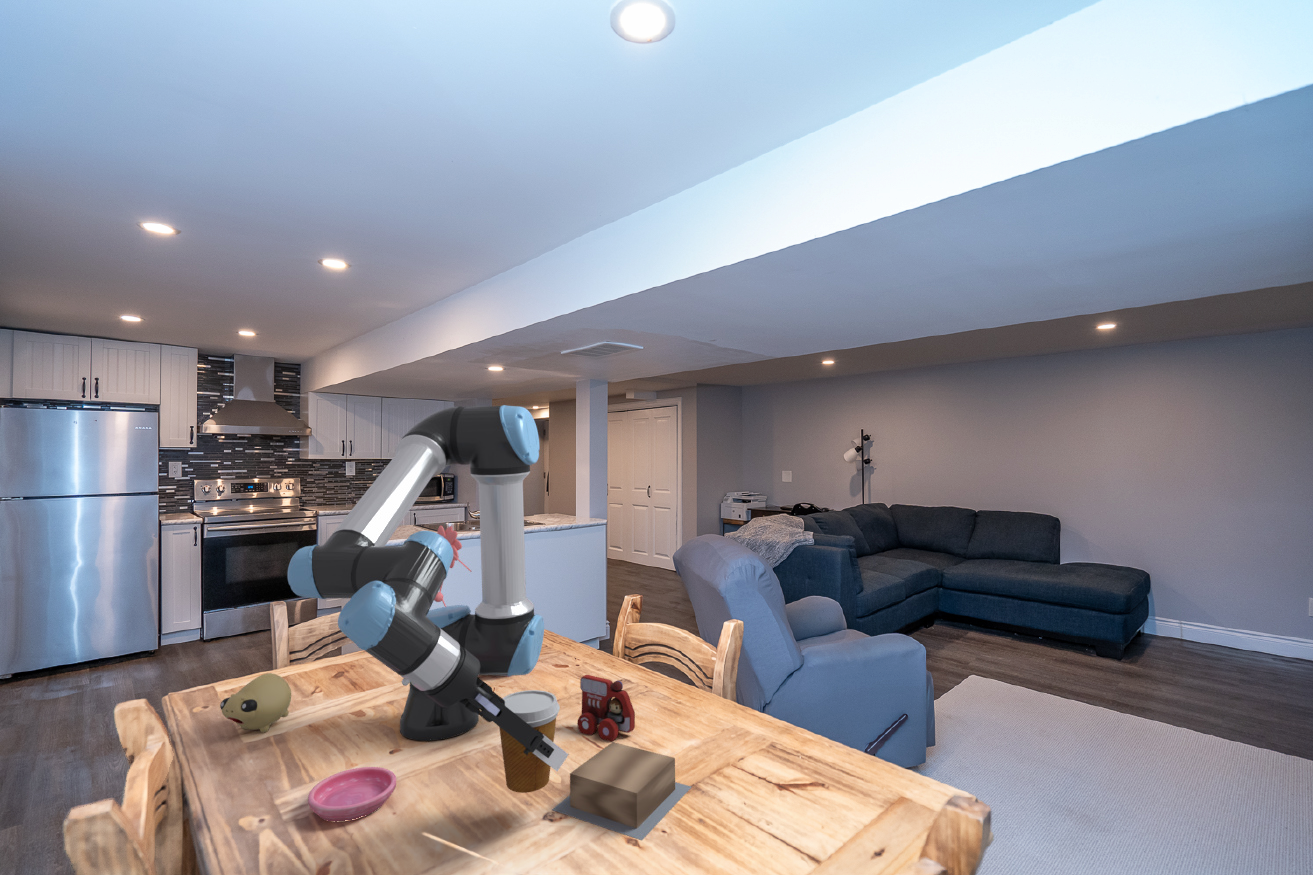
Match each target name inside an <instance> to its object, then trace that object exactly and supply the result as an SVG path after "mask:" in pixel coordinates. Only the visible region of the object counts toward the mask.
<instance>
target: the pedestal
mask: <svg viewBox="0 0 1313 875" xmlns="http://www.w3.org/2000/svg"><path fill="white" fill-rule="evenodd" d="M675 782H676V757H673V756H669V755H666V754H661V753H657V752H653V751H649V750H645V749H641V748H637V747H634V746H629V745H626V744H622V743H618V742H614V741H611V743H609V744H608V745H607V746H605V747H604V748H603V749H601V750H600V751H598V752H597V753H595V755H593V756H591V757H590V758H588V759H587V760H586V761H585V762H583V763H582V764H581V765H580V766H578V767H576V768H575V769H574V770H573V771H571V772H570V773H569V796H570V807H573V808H576V809H579V810H582V811H585V812H588V813H591V814H594V815H597V816H600V817H603V818H607V819H610V820H613V821H616V822H619V823H622V824H625V825H628V826H631V827H634V828H638V827H639V826H640V825H641V824H642V823H643V822H644V821H645V820H646V819H647V818H648V817H649V816H650V815H651V814H652V813H653V812H654V811H655V810H656V809H657V808H658V807H659V806H660V805H661V804H662V802H663V801H664V800H665V799H666V798H667V797H668V796H669V795H670V794H671V793H672V792H673V791H674V790H675Z"/></svg>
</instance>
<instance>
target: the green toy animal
mask: <svg viewBox="0 0 1313 875" xmlns="http://www.w3.org/2000/svg"><path fill="white" fill-rule="evenodd" d="M291 701H292V690H291V687H290V684H289V683H288V682H287V680H285V679H284V677H282V676H280V675H278V674H276V673H272V672H270V673H269V672H267V673H264V674H261V675H259V676H257V677H256V678H254V679H253V680H251V681H250V682H248V683H247V684H246V685H244V686H243V687H242V688H240V689H239V691H238V692H236V693H233V694H231V695H230V697H226V698H223V699H222V701H221V703H220V704H219V706H220V710H221V714H222V715H223V717H225V718H226V719H228V720H230V721H232V722H234V723H236V724H237V725H238V726H239V727H240V728H241V729H242V730H250V731H255V730H259V732H261V733H263V734H264V733H267V732H268V731H269V729H270V727H271V725H273V724H274V723H275V722H277V721H279V720H280V719H281V718H286V717H287V716H288V715H289V713H290V712H289V710H288V709H289V706H290V704H291Z"/></svg>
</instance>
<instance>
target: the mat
mask: <svg viewBox="0 0 1313 875" xmlns="http://www.w3.org/2000/svg"><path fill="white" fill-rule="evenodd" d="M691 789H692V786H691V785H688V784H684V783H681V782H676V781H675V790H674V791H673V792H672V793H671V794H670V795H669V796H668V797H667V798H666V799H665V800H664V801H663V802H662V804H661V805H660V806H659V807H658V808H657V809H656V810H655V811H654V812H653V813H652V814H651V815H650V816H649V817H648V818H647V819H646V820H645V821H644V822H643V823H642V824H641V825H640V826H639V827H638V828H634V827H631V826H628V825H625V824H622V823H619V822H616V821H613V820H610V819H607V818H603V817H600V816H597V815H594V814H591V813H588V812H585V811H582V810H579V809H576V808H573V807H570V795H568V796H567V797H566V798H564V799H563V800H562V801H561V802H559V803H558V804H557V805H555V807H553V808H551V811H553V812H557V813H559V814H563V815H567V816H568V817H572V818H575V819H578V820H580V821H583V822H587V823H590V824H592V825H595V826H598V827H601V828H603V829H607V830H610V831H612V832H615V833H619V834H622V835H624V836H627V837H631V838H634V839H636V840H640V841H643V840H644V839H645V838H646V837H647V836H648V834H650V833H651V831H652V830H653V829H654V828H655V827H656V826H657V825H658V824H659V823H660V822H661V821H662V820H663V819H664V818H665V817H666V815H668V813H669V812H670V811H671V810H672V809H673V808H674V807H675V806H676V805H677V804H678V802H679V801H680V800H681V799H682V798H683V797H684V796H685V795H686V794H687V793H688V792H689V791H690V790H691Z"/></svg>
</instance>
